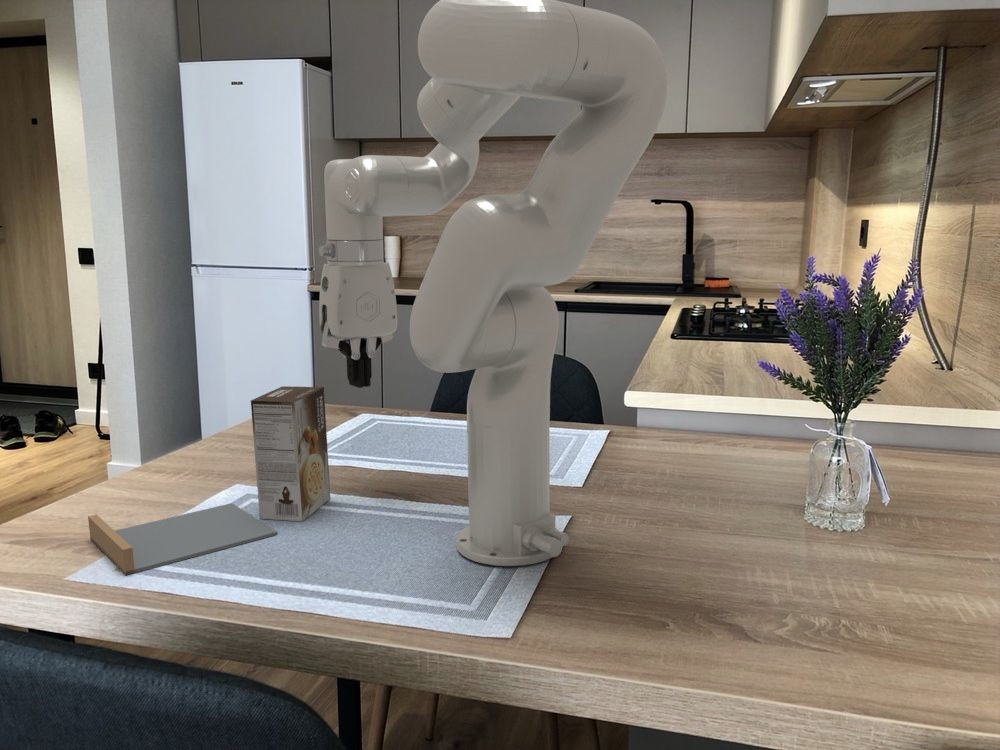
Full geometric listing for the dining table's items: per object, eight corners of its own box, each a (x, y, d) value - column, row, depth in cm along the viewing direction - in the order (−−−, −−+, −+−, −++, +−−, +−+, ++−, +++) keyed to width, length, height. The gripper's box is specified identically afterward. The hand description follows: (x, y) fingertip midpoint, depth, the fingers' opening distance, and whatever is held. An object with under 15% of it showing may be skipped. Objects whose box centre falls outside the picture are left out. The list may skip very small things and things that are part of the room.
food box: (289, 496, 118) (281, 384, 115) (331, 499, 117) (325, 386, 114) (257, 519, 109) (249, 399, 106) (303, 522, 108) (296, 400, 105)
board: (277, 534, 104) (276, 511, 103) (125, 575, 93) (122, 549, 92) (232, 505, 114) (230, 484, 114) (90, 539, 103) (87, 516, 103)
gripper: (319, 257, 106) (325, 398, 110) (416, 252, 116) (419, 382, 119) (292, 254, 112) (298, 388, 115) (387, 250, 121) (390, 374, 125)
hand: (359, 385), depth 117 cm, fingers closed
